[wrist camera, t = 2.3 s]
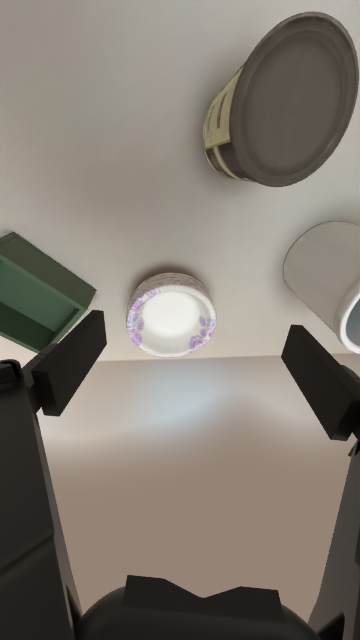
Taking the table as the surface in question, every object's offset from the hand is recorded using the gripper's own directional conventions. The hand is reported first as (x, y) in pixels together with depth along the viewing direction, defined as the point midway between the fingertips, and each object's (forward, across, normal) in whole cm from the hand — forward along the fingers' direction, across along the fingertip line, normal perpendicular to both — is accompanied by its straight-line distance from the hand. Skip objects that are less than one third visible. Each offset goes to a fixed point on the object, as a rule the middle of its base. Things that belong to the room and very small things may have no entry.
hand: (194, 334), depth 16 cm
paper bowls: (+27, -4, -8) cm, 28 cm away
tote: (+23, -27, -6) cm, 36 cm away
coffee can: (+24, +5, +18) cm, 30 cm away
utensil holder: (+29, +23, +1) cm, 37 cm away
